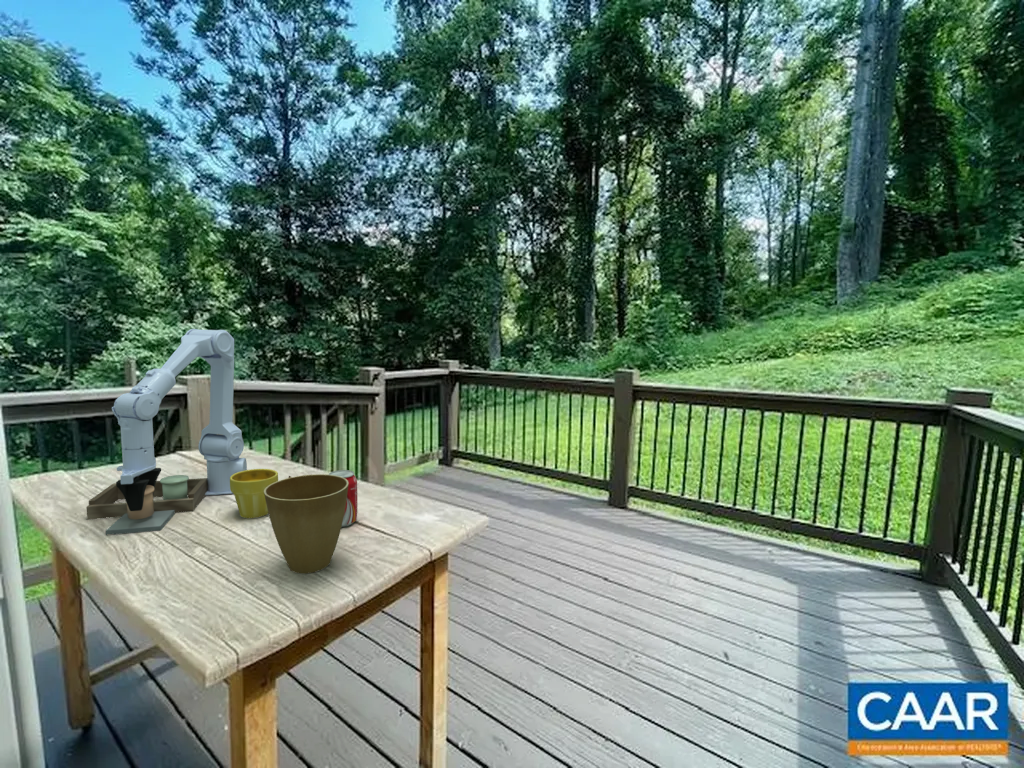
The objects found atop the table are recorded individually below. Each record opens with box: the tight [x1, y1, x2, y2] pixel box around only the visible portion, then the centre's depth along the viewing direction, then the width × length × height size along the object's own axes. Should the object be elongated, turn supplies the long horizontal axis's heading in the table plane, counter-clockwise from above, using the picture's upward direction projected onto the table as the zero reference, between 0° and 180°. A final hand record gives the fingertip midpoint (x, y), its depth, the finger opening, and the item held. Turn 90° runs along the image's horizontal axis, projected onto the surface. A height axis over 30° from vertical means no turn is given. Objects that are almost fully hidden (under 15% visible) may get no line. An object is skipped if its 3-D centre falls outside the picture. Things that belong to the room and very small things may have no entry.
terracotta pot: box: [127, 485, 154, 519], centre depth 113 cm, size 6×6×6 cm
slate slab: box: [105, 510, 176, 536], centre depth 114 cm, size 10×10×1 cm
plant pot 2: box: [264, 473, 348, 575], centre depth 96 cm, size 15×15×16 cm
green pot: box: [159, 474, 190, 500], centre depth 127 cm, size 6×6×6 cm
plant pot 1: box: [230, 468, 279, 519], centre depth 122 cm, size 10×10×10 cm
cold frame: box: [85, 477, 208, 520], centre depth 125 cm, size 21×14×4 cm
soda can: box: [327, 469, 358, 528], centre depth 117 cm, size 7×7×12 cm
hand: (141, 505), depth 113 cm, fingers closed on terracotta pot, 5 cm apart
